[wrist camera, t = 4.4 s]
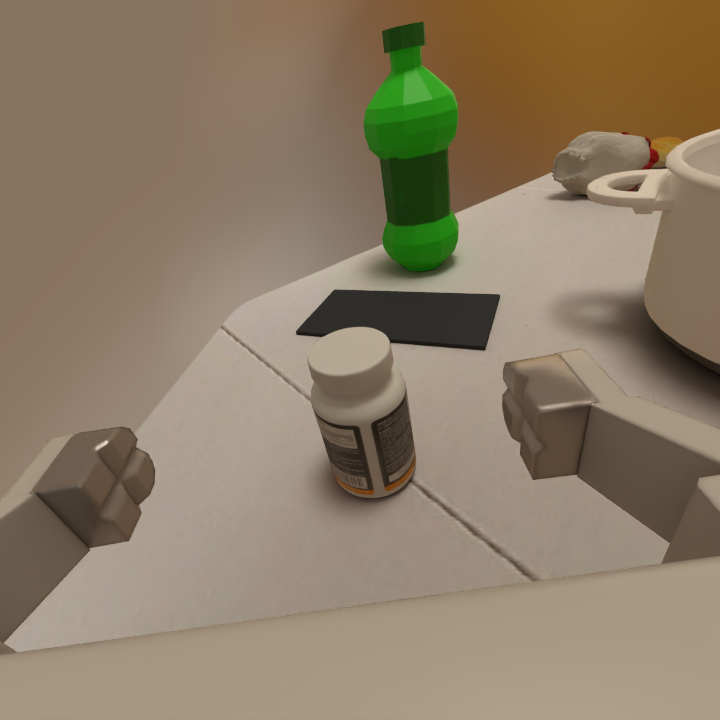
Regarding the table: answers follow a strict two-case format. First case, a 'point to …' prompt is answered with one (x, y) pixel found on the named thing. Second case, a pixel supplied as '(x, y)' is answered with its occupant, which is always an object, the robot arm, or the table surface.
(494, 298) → the slate mat
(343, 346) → the pill bottle
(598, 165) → the white lumpy rounded piece
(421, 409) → the table surface
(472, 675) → the robot arm
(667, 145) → the bread roll
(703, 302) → the pot
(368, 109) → the plastic bottle
